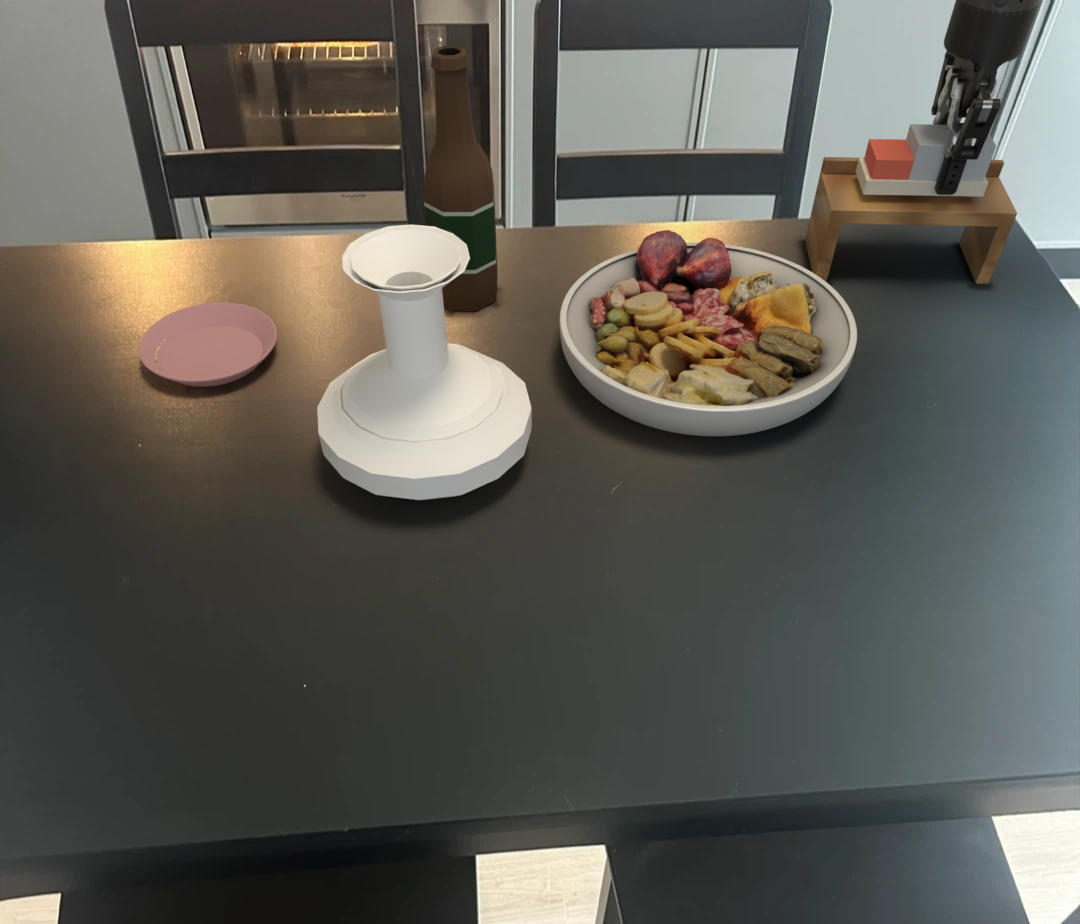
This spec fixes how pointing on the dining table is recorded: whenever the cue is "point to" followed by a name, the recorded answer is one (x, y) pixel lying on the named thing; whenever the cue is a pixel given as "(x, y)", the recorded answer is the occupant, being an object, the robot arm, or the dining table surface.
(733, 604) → the dining table surface
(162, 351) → the plate
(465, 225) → the beer bottle
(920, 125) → the stepped block with orange
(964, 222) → the shoe shelf
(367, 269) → the candle holder
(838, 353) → the bowl
